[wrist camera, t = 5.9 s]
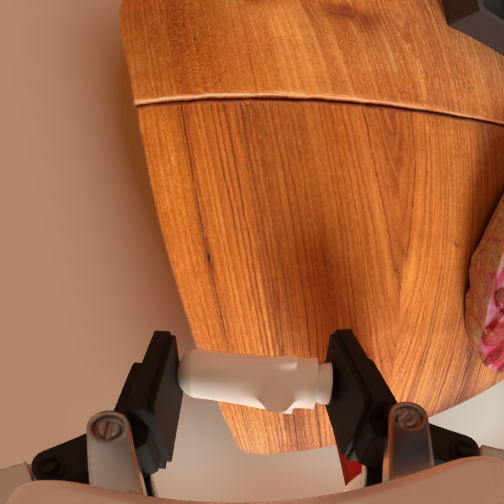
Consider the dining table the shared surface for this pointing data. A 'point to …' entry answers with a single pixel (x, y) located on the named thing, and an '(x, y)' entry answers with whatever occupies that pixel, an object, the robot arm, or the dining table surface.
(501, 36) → the bin
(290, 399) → the small white plastic part
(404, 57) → the dining table surface
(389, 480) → the robot arm
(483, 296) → the cake
